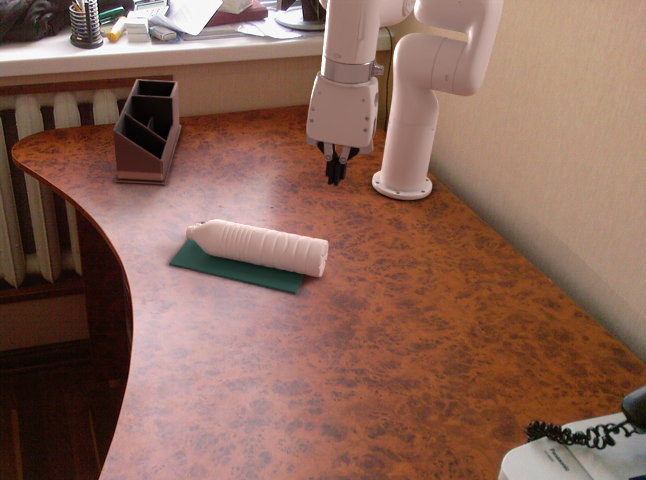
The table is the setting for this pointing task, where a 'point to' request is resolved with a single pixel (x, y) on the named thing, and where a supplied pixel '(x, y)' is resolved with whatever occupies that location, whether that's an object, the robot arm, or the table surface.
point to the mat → (235, 269)
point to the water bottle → (261, 246)
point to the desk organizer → (147, 132)
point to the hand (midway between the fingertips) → (334, 181)
